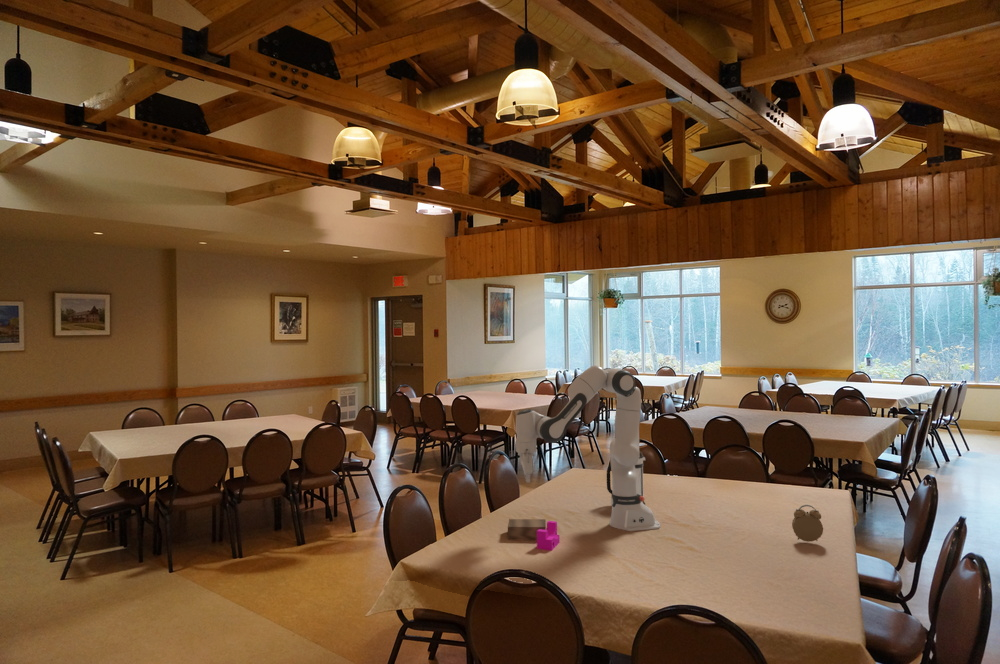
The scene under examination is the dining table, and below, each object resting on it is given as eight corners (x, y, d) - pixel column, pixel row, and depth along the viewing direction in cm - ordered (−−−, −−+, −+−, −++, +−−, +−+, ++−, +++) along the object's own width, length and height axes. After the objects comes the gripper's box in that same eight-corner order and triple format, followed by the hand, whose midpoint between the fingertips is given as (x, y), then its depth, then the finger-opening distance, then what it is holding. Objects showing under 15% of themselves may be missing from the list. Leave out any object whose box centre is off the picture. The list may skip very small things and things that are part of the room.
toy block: (551, 551, 248) (551, 532, 248) (537, 549, 251) (536, 531, 251) (562, 540, 262) (562, 522, 262) (548, 538, 264) (548, 520, 265)
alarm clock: (821, 540, 256) (821, 504, 256) (824, 544, 251) (823, 507, 251) (792, 538, 259) (791, 502, 259) (793, 541, 255) (793, 505, 255)
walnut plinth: (545, 533, 272) (545, 519, 272) (545, 541, 261) (545, 527, 261) (509, 532, 273) (509, 519, 273) (507, 541, 262) (507, 526, 262)
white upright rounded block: (625, 498, 327) (624, 441, 327) (652, 503, 316) (651, 444, 316) (606, 504, 315) (605, 445, 315) (633, 510, 303) (632, 449, 304)
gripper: (535, 451, 256) (536, 485, 256) (531, 443, 277) (532, 474, 277) (520, 452, 256) (521, 485, 256) (517, 443, 277) (518, 474, 277)
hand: (527, 479), depth 267 cm, fingers open, 8 cm apart
